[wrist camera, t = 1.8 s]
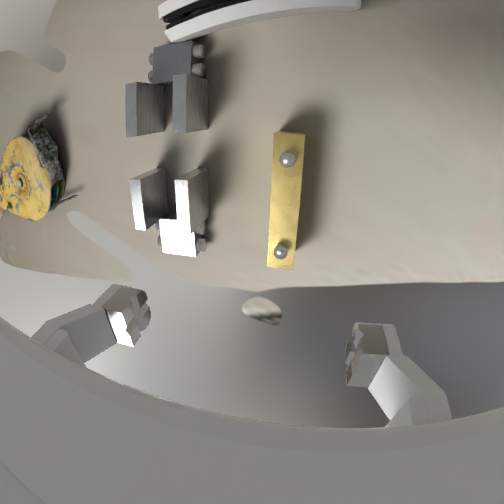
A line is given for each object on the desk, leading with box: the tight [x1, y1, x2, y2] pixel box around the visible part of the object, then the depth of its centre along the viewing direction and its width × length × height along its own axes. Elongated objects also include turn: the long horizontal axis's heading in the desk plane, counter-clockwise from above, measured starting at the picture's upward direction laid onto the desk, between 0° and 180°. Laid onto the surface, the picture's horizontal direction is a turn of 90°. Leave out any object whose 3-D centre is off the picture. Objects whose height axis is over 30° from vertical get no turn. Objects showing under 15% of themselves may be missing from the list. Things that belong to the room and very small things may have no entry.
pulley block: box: [0, 113, 78, 221], centre depth 30 cm, size 14×6×30 cm
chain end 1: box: [126, 41, 209, 137], centre depth 20 cm, size 6×9×5 cm, turn 178°
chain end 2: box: [130, 168, 209, 257], centre depth 26 cm, size 6×9×5 cm, turn 179°
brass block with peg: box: [267, 131, 305, 270], centre depth 24 cm, size 2×12×5 cm, turn 179°
